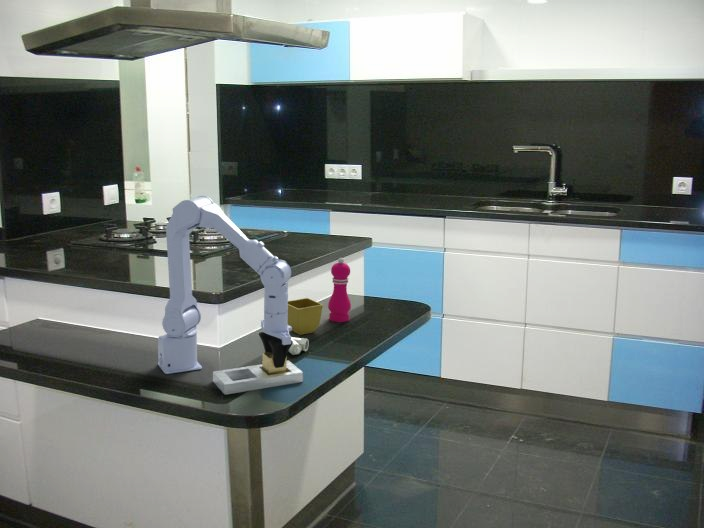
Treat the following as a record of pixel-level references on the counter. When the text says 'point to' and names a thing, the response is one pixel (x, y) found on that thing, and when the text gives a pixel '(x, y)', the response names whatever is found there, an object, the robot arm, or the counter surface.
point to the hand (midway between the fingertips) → (275, 363)
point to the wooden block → (271, 365)
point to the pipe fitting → (298, 345)
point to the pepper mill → (339, 293)
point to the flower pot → (304, 315)
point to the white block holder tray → (254, 378)
